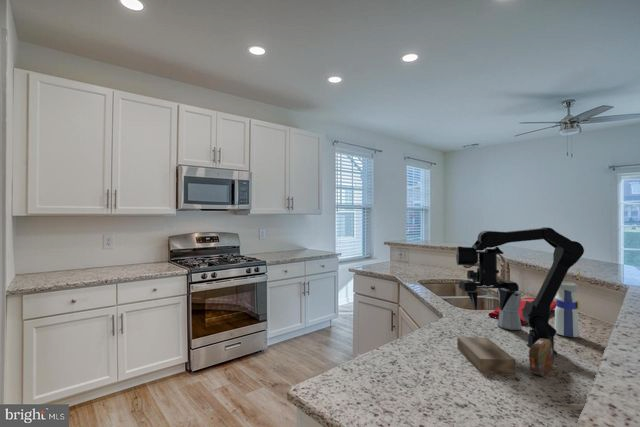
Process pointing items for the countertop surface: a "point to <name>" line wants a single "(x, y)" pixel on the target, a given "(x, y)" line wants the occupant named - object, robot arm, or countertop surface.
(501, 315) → the coffee maker
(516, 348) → the countertop surface
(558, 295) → the water bottle
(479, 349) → the walnut plinth
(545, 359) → the tin
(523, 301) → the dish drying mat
